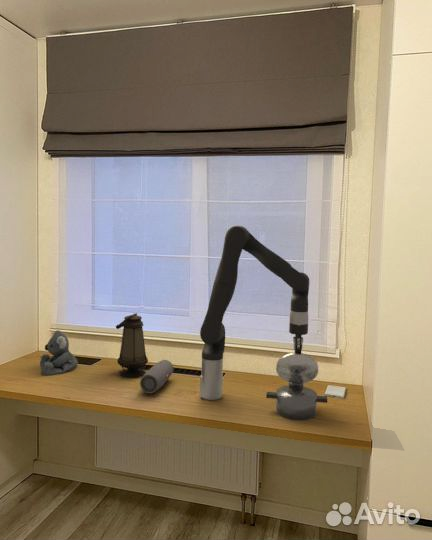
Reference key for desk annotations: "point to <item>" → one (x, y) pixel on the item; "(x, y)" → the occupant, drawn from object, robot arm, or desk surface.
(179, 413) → the desk surface
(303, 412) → the pot
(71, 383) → the desk surface
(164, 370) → the bluetooth speaker
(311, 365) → the lid
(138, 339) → the lantern
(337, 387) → the hard drive
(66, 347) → the koala plush
